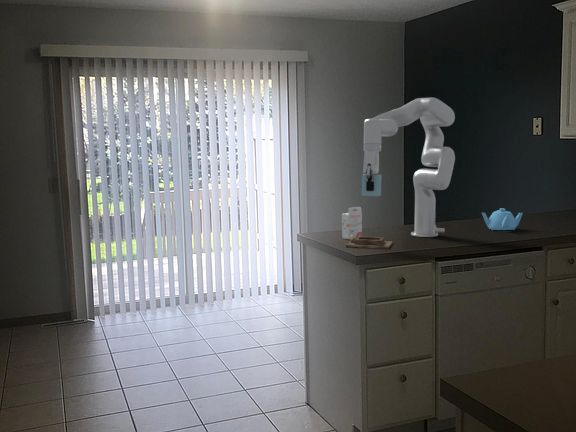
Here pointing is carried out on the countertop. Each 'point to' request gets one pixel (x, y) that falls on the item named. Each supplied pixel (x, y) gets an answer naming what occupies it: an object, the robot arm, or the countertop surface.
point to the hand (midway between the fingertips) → (371, 190)
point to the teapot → (502, 220)
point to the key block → (376, 186)
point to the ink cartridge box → (352, 223)
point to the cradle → (369, 242)
